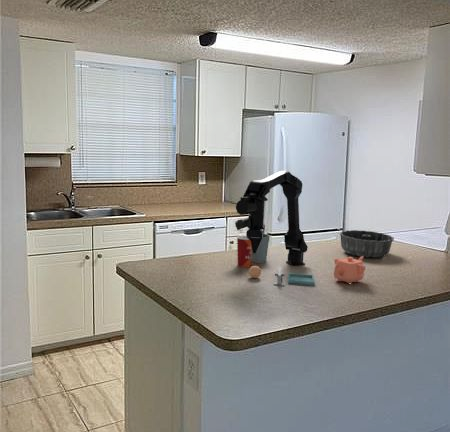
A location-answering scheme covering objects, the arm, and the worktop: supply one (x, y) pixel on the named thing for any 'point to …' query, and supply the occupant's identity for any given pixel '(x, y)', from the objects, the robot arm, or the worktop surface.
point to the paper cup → (244, 250)
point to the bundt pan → (366, 243)
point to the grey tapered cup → (261, 250)
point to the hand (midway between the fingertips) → (255, 250)
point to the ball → (254, 271)
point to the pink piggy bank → (349, 269)
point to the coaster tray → (301, 279)
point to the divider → (279, 276)
